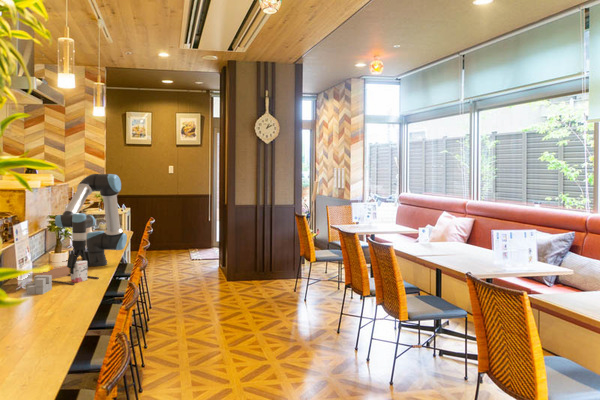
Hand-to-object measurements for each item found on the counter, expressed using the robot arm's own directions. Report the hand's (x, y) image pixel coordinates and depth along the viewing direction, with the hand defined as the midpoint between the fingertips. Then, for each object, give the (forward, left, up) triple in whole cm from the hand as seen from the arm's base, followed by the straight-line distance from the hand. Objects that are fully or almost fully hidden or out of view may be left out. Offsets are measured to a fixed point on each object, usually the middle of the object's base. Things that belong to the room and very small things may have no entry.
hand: (79, 277), depth 312 cm
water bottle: (-61, -53, -2) cm, 81 cm away
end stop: (0, -19, -2) cm, 19 cm away
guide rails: (0, -7, -2) cm, 7 cm away
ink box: (0, 0, -2) cm, 2 cm away
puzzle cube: (+31, 0, -2) cm, 31 cm away
